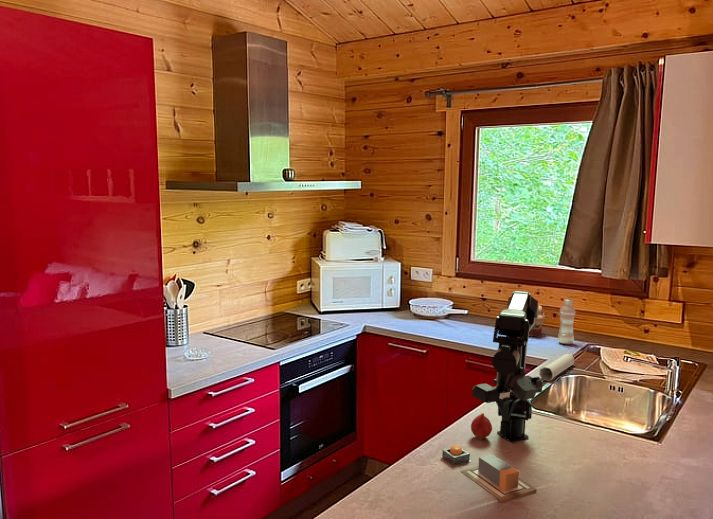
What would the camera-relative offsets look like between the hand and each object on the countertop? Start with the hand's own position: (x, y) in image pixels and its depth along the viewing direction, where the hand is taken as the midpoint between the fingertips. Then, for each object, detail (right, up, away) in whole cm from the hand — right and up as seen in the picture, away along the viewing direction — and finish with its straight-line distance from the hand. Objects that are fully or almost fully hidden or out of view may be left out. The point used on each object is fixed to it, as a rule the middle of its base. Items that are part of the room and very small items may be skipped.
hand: (505, 420), depth 159 cm
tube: (+38, -2, +76) cm, 85 cm away
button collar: (-12, -11, +3) cm, 17 cm away
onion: (-3, -10, +16) cm, 19 cm away
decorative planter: (+41, +7, +130) cm, 136 cm away
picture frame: (-4, -13, -7) cm, 16 cm away
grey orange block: (-4, -13, -7) cm, 15 cm away
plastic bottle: (+53, +4, +113) cm, 125 cm away
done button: (-12, -10, +3) cm, 16 cm away
